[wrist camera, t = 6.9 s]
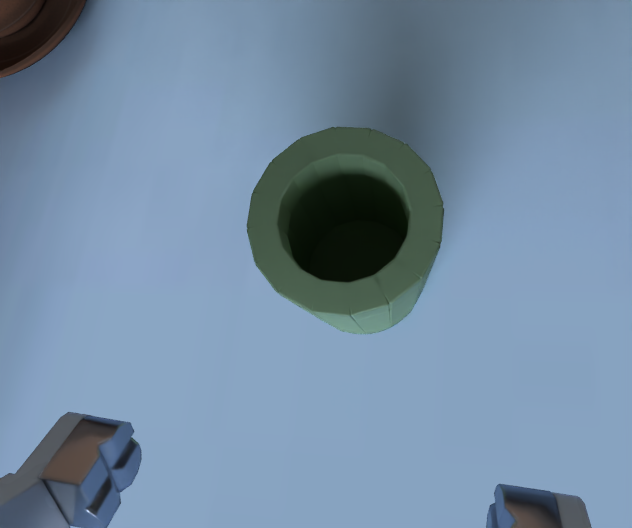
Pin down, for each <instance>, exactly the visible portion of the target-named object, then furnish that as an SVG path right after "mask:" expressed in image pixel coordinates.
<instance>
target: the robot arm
mask: <svg viewBox="0 0 632 528" xmlns="http://www.w3.org/2000/svg"><path fill="white" fill-rule="evenodd" d="M133 433H134V429H133V427H132V425H131V423H130V422H124V421H118V420H113V419H107V418H101V417H95V416H91V415H86V414H79V413H73V412H68V413H66V414H65V415H63V416H62V417H61V418H60V419H59V420H58V421H57V422H56V424H55V425H54V426H53V427H52V429H51V430H50V431H49V432H48V434H47V435H46V436H45V437H44V439H43V440H42V441H41V442H40V444H39V445H38V446H37V447H36V449H35V450H34V451H33V452H32V454H31V455H30V456H29V457H28V458H27V460H26V461H25V462H24V463H23V465H22V466H21V467H20V468H19V470H18V471H17V472H16V473H15V474H12V473H9V474H7V475H5V476H4V477H2V478H0V528H70V526H74V527H80V528H107V527H108V525H109V523H110V521H111V520H112V518H113V516H114V514H115V513H116V511H117V509H118V507H119V506H120V504H121V499H120V492H122V491H123V490H124V489H126V488H127V487H129V486H130V485H131V484H132V482H133V481H134V479H135V477H136V475H137V473H138V470H139V467H140V463H141V448H140V445H139V443H138V442H136V441H135V440H134V439H133V438H132V437H131V436H132V435H133ZM494 497H495V503H494V504H492V505H490V507H489V511H488V514H487V524H486V528H592V527H591V524H590V520H589V517H588V513H587V510H586V506H585V504H584V502H583V501H582V499H581V498H580V497H578V496H573V495H567V494H560V493H554V492H550V491H545V490H538V489H531V488H525V487H518V486H511V485H505V484H498V485H497V486H496V489H495V492H494Z"/></svg>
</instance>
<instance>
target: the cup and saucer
mask: <svg viewBox="0 0 632 528" xmlns="http://www.w3.org/2000/svg"><path fill="white" fill-rule="evenodd" d="M85 2H86V0H0V78H1V77H5V76H8V75H11V74H14V73H16V72H19V71H21V70H23V69H25V68H27V67H29V66H31V65H33V64H34V63H36V62H37V61H39V60H40V59H42V58H43V57H44V56H46V55H47V54H48V53H50V52H51V51H52V50H53V49H54V48H55V47H56V46H57V45H58V44H59V43H60V42H61V41H62V40H63V39H64V38H65V36H66V35H67V34H68V33H69V31H70V30H71V29H72V27H73V26H74V24H75V23H76V21H77V19H78V18H79V16H80V14H81V12H82V10H83V7H84V5H85Z"/></svg>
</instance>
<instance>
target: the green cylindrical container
mask: <svg viewBox="0 0 632 528" xmlns="http://www.w3.org/2000/svg"><path fill="white" fill-rule="evenodd" d="M443 216H444V208H443V201H442V198H441V195H440V192H439V189H438V187H437V184H436V181H435V178H434V175H433V173H432V172H431V169H430V168H429V167H428V165H427V164H426V163H425V162H424V161H423V160H422V159H421V158H420V157H419V156H418V155H417V154H416V153H415V152H414V151H413V150H412V149H411V148H410V147H409V145H408V144H404V143H403V142H402V141H399V140H397V139H395V138H393V137H390V136H388V135H386V134H383V133H381V132H379V131H377V130H374V129H372V130H371V129H370V128H353V127H336V128H335V127H331V128H328V129H325V130H322V131H319V132H316V133H313V134H310V135H307V136H304V137H301V138H300V139H298V140H297V141H296V142H294V143H293V144H292V145H290V146H289V147H288V148H287V149H285V150H284V151H283V152H282V153H280V154H279V155H278V156H277V157H275V158H274V159H273V160H272V162H270V163H269V165H268V167H267V168H266V170H265V172H264V174H263V175H262V177H261V179H260V180H259V182H258V184H257V185H256V187H255V189H254V190H253V193H252V196H251V203H250V209H249V215H248V221H247V228H248V229H247V233H248V237H249V241H250V245H251V249H252V254H253V258H254V261H255V264H256V266H257V267H258V269H259V270H260V271H261V273H262V274H263V275H264V276H265V278H266V279H267V280H268V282H269V283H270V284H271V286H272V287H273V288H274V290H275V291H276V292H277V293H279V294H280V295H281V296H283V297H284V298H286V299H288V300H289V301H291V302H293V303H294V304H296V305H297V306H299V307H301V308H302V309H304V310H306V311H307V312H309V313H311V314H312V315H314V316H316V317H317V318H319V319H321V320H322V321H324V322H326V323H328V324H329V325H331V326H333V327H335V328H336V329H338V330H340V331H343V332H348V333H354V334H372V333H376V332H380V331H383V330H386V329H388V328H390V327H392V326H394V325H395V324H397V323H398V322H400V321H401V320H402V319H403V318H404V317H406V316H407V315H408V314H409V313H410V312H411V311H412V309H413V307H414V305H415V304H416V302H417V300H418V298H419V296H420V294H421V292H422V290H423V288H424V285H425V283H426V280H427V278H428V276H429V273H430V271H431V268H432V266H433V263H434V261H435V258H436V256H437V253H438V251H439V248H440V244H441V241H442V229H443Z"/></svg>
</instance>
